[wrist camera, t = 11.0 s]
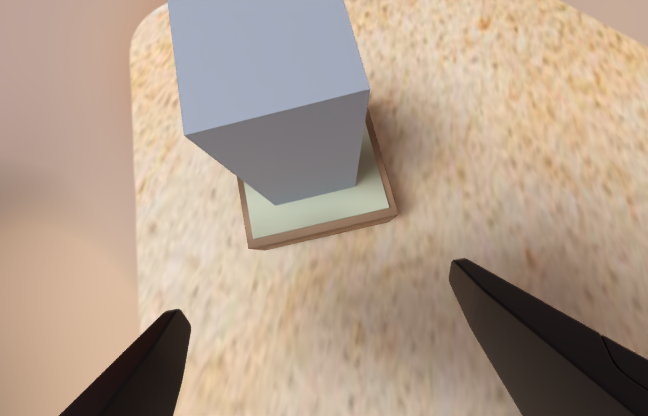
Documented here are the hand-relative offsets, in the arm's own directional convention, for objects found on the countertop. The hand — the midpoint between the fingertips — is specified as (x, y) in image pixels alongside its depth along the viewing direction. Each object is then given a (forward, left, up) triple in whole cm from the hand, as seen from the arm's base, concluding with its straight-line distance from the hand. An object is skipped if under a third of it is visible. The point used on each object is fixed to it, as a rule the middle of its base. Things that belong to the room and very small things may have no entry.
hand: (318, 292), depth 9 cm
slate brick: (+8, -1, -8) cm, 11 cm away
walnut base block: (+8, -1, -11) cm, 14 cm away
